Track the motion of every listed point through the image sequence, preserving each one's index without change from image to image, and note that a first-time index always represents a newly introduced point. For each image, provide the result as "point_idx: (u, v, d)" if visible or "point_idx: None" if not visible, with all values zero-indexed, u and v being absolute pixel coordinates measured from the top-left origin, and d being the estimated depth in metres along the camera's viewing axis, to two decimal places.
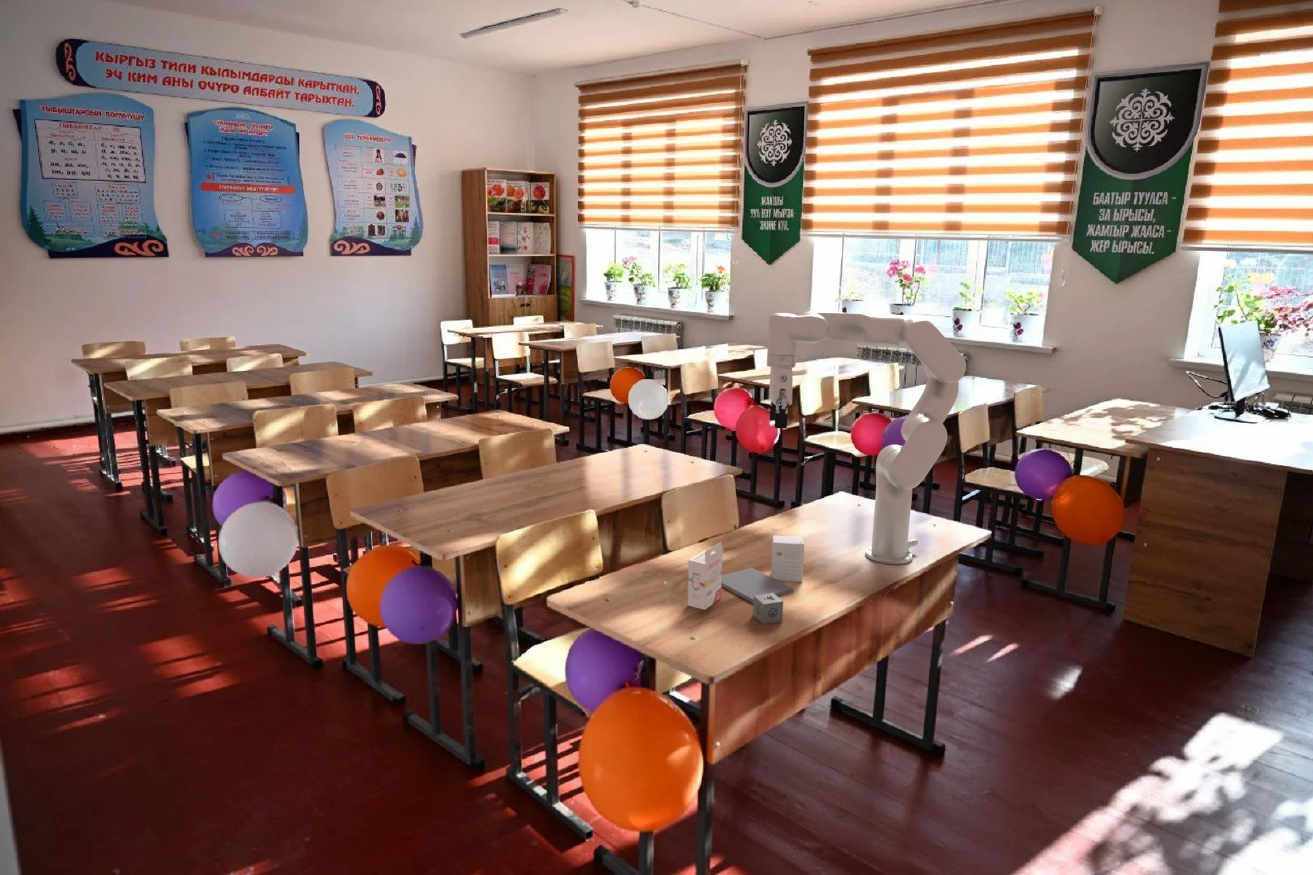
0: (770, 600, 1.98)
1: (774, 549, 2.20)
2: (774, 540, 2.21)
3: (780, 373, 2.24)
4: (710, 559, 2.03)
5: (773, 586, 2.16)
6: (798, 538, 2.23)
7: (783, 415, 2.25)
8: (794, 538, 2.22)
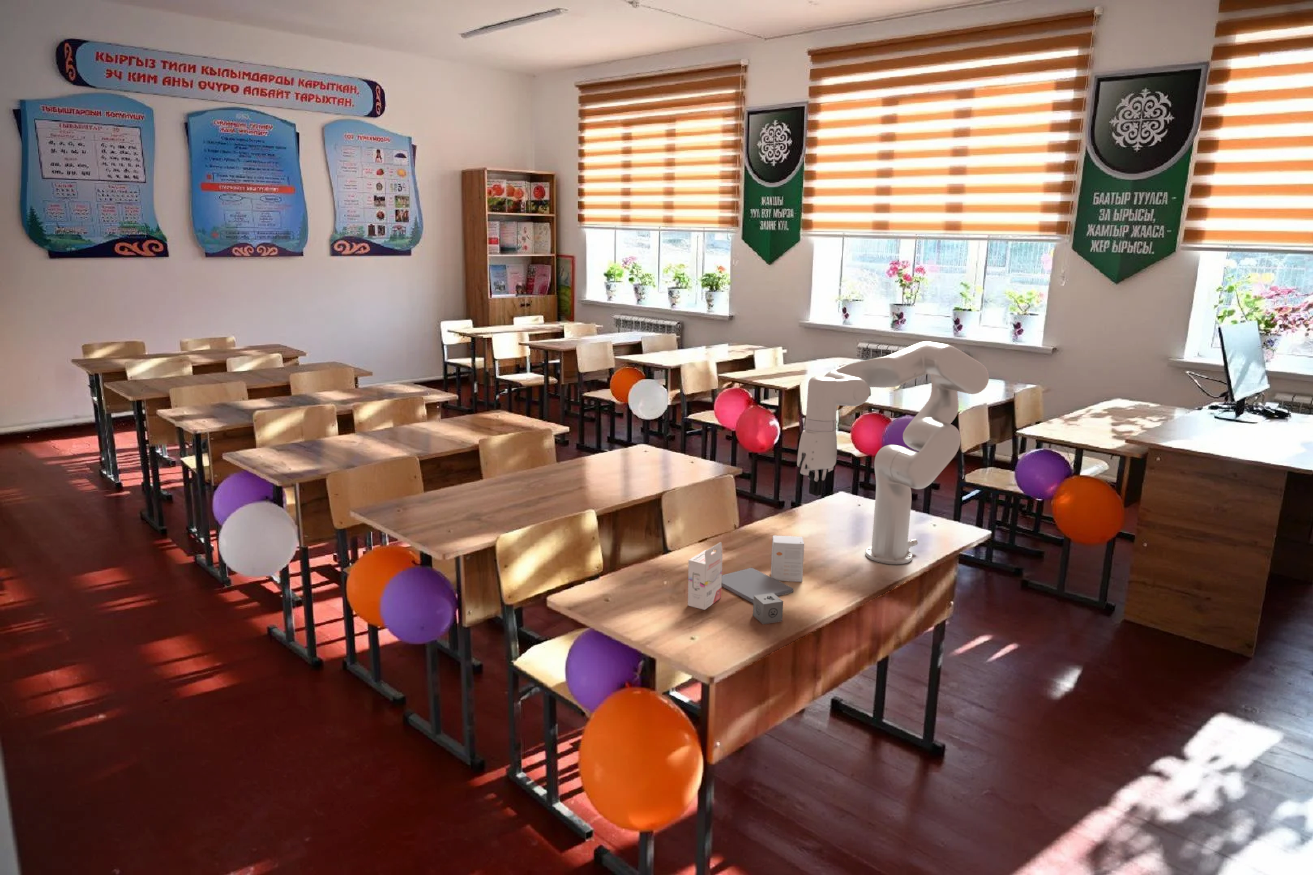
0: (770, 600, 1.98)
1: (774, 549, 2.20)
2: (774, 540, 2.21)
3: None
4: (710, 559, 2.03)
5: (773, 586, 2.16)
6: (798, 538, 2.23)
7: None
8: (794, 538, 2.22)
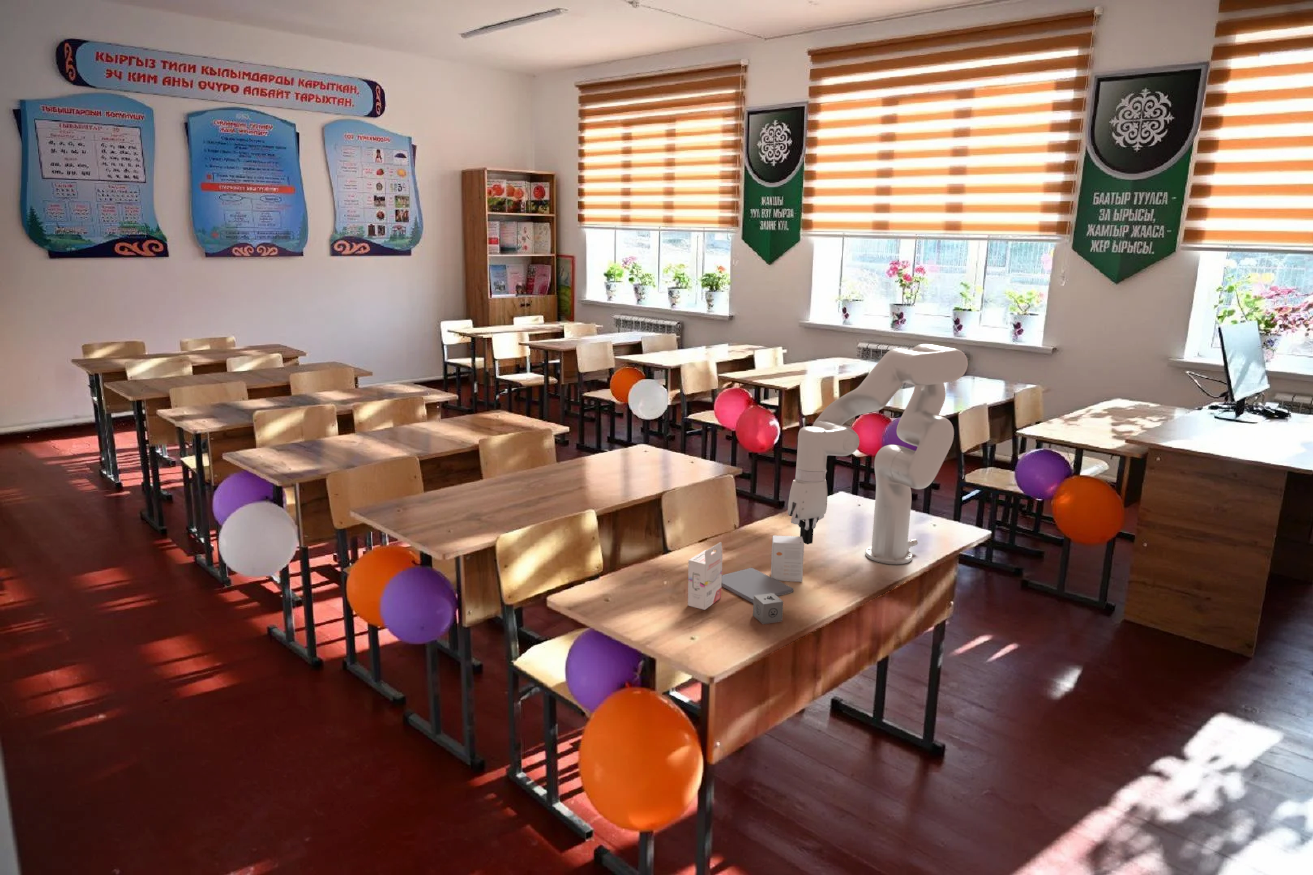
0: (770, 600, 1.98)
1: (774, 549, 2.20)
2: (774, 540, 2.21)
3: None
4: (710, 559, 2.03)
5: (773, 586, 2.16)
6: (798, 538, 2.23)
7: None
8: (794, 538, 2.22)
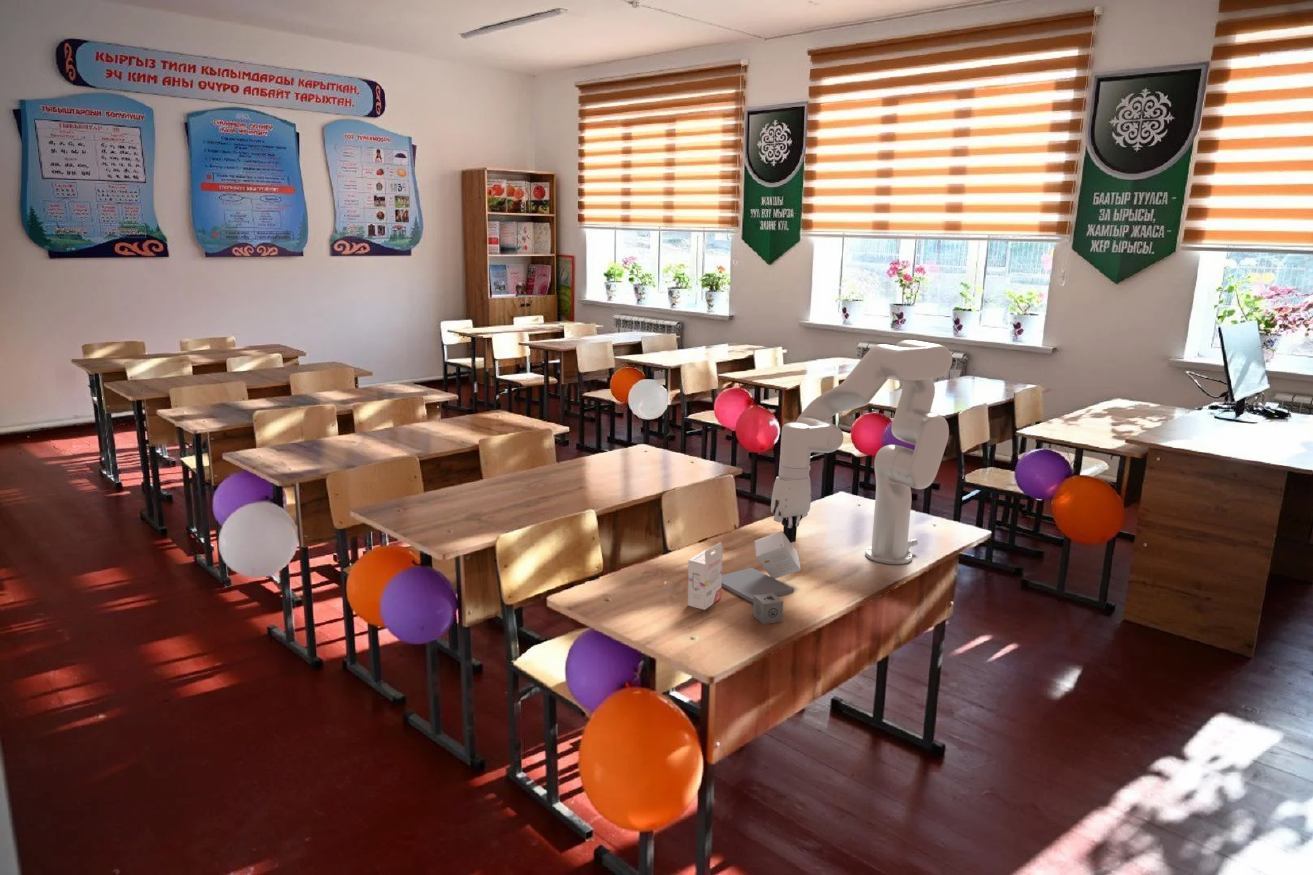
0: (770, 600, 1.98)
1: (760, 560, 2.17)
2: (756, 551, 2.17)
3: None
4: (710, 559, 2.03)
5: (773, 586, 2.16)
6: (778, 537, 2.17)
7: None
8: (774, 538, 2.17)
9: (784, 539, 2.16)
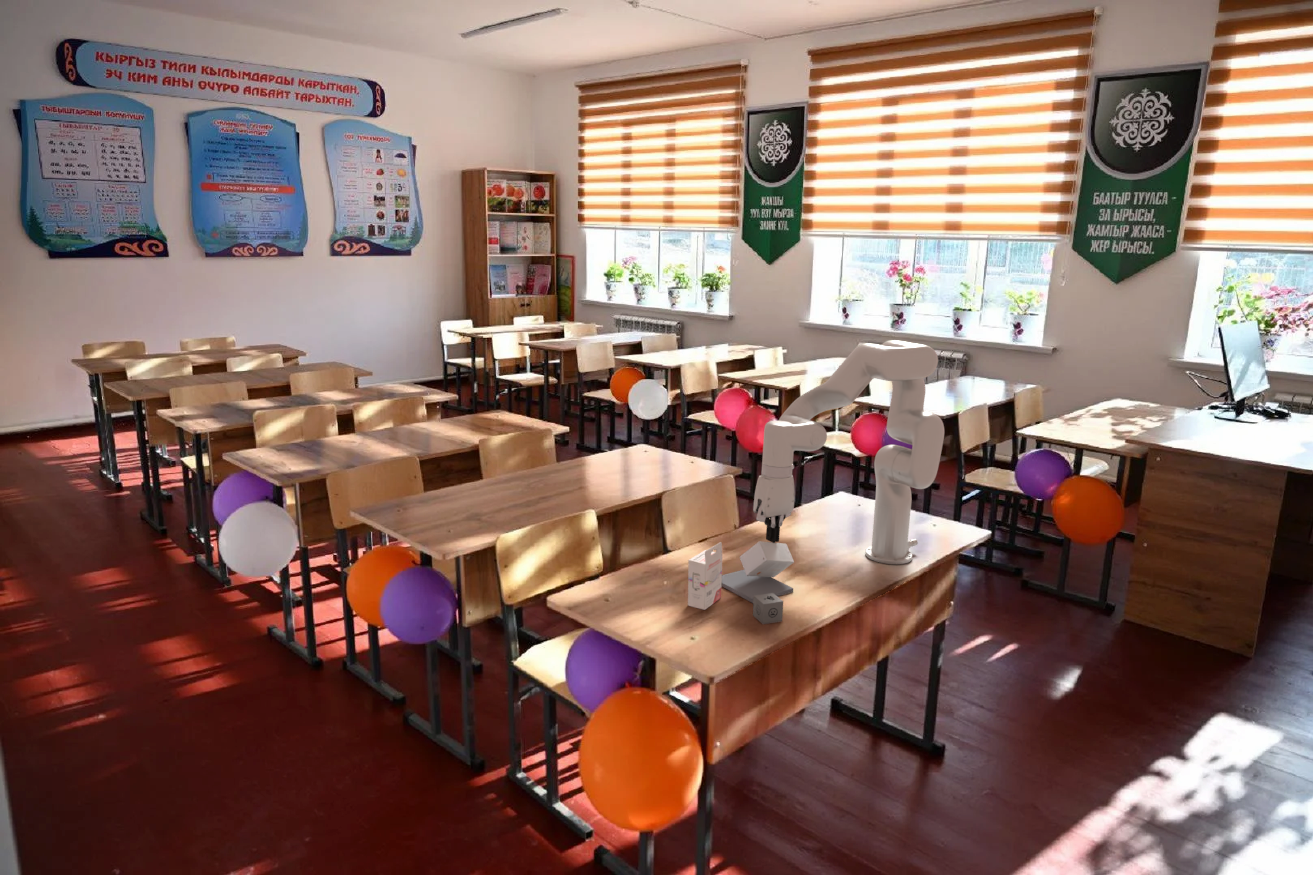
0: (770, 600, 1.98)
1: (752, 575, 2.17)
2: (745, 569, 2.16)
3: None
4: (710, 559, 2.03)
5: (773, 586, 2.16)
6: (758, 549, 2.14)
7: None
8: (755, 552, 2.14)
9: (764, 549, 2.13)
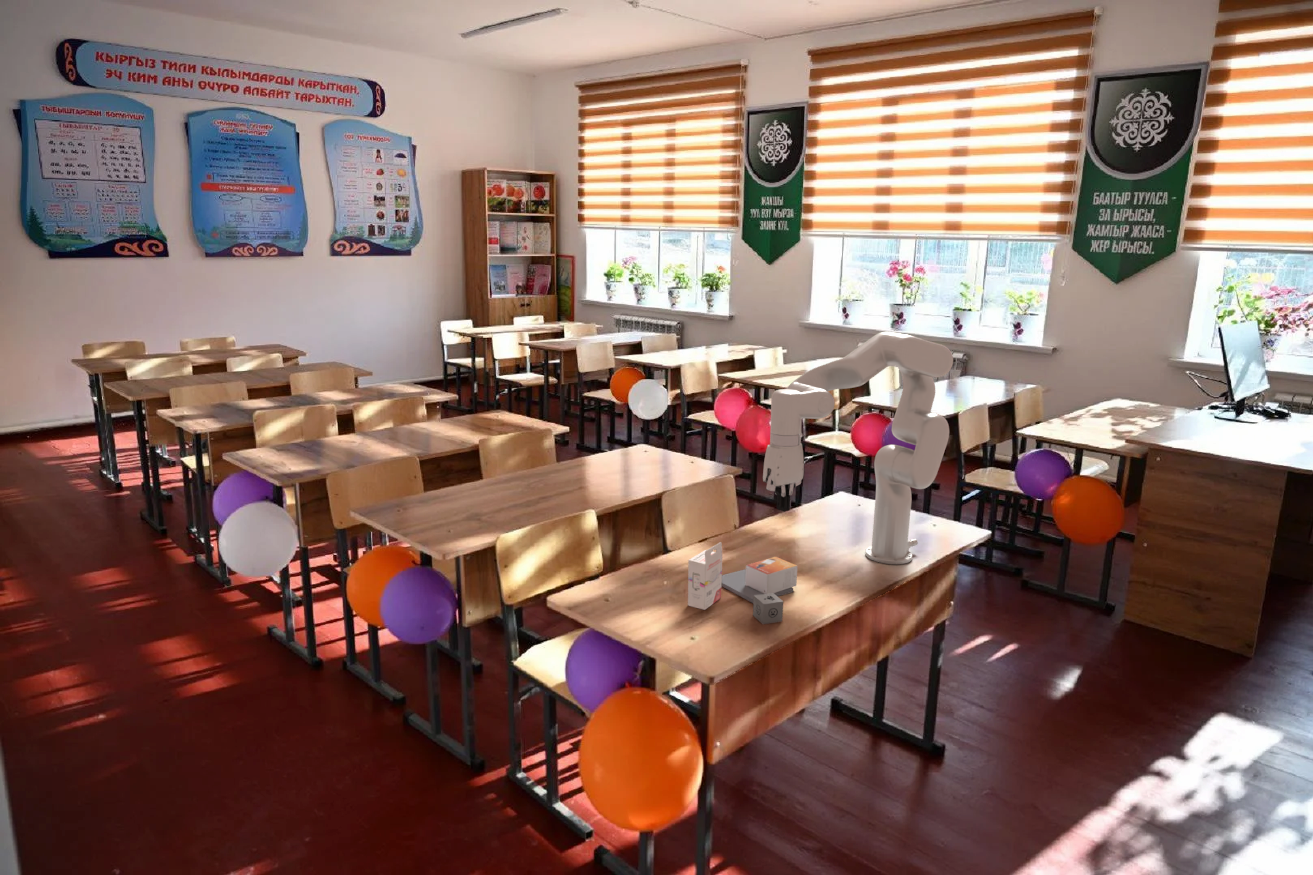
0: (770, 600, 1.98)
1: None
2: (746, 580, 2.15)
3: None
4: (710, 559, 2.03)
5: None
6: (764, 579, 2.10)
7: None
8: (761, 578, 2.11)
9: (769, 583, 2.10)
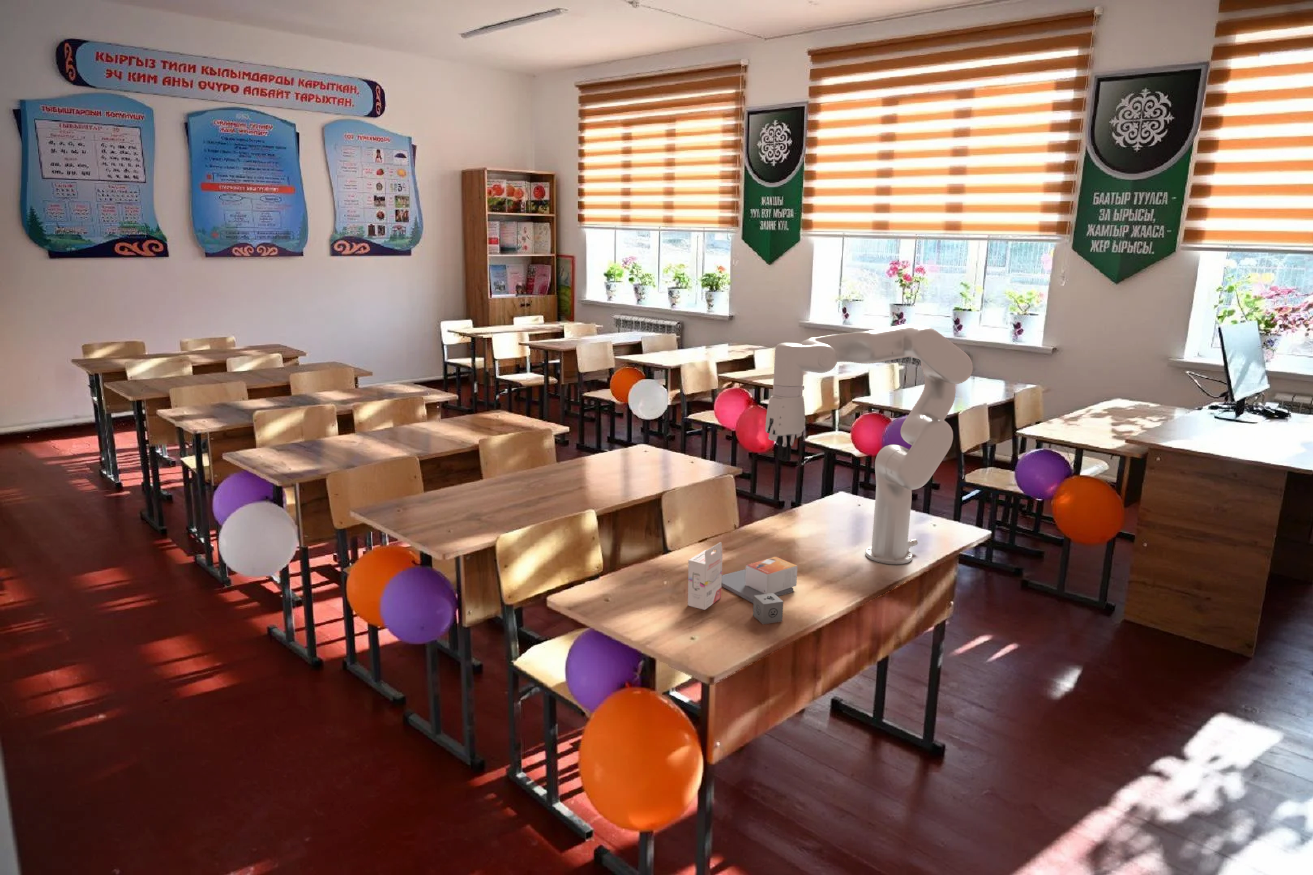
0: (770, 600, 1.98)
1: None
2: (746, 580, 2.15)
3: None
4: (710, 559, 2.03)
5: None
6: (764, 579, 2.10)
7: None
8: (761, 578, 2.11)
9: (769, 583, 2.10)
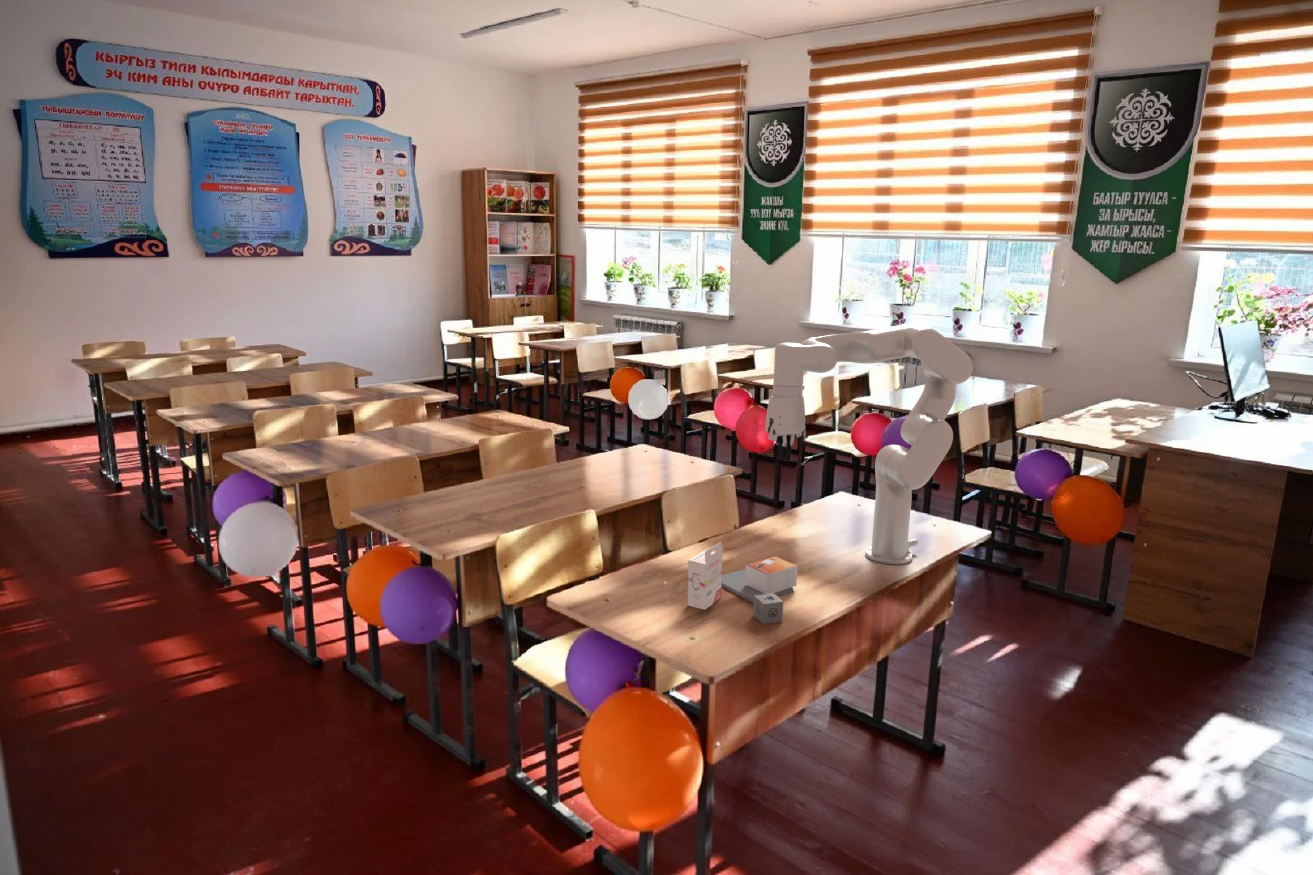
0: (770, 600, 1.98)
1: None
2: (746, 580, 2.15)
3: None
4: (710, 559, 2.03)
5: None
6: (764, 579, 2.10)
7: None
8: (761, 578, 2.11)
9: (769, 583, 2.10)
